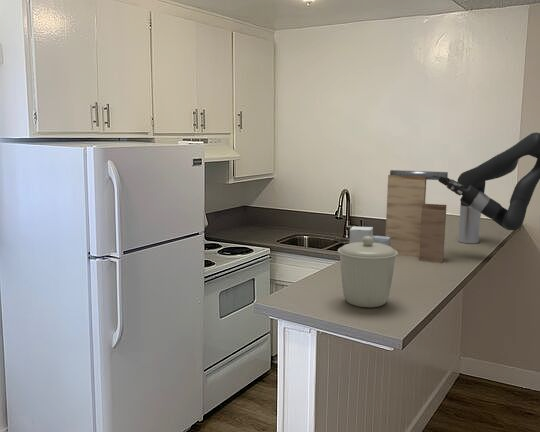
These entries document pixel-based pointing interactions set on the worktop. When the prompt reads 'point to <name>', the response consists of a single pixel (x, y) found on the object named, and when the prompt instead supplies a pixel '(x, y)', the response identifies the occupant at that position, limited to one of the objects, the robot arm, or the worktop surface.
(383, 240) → the medicine box
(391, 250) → the canister
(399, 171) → the pin
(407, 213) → the stand
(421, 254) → the tall wooden post
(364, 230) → the skincare box
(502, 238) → the worktop surface
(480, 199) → the robot arm
